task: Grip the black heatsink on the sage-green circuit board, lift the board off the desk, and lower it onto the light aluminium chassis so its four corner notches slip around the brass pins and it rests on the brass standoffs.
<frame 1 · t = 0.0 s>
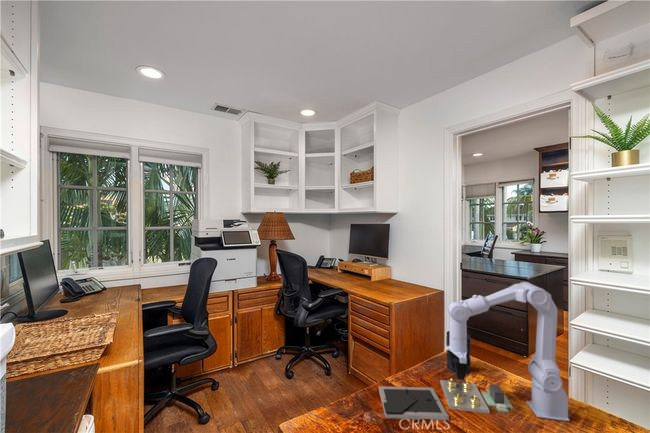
hand: (457, 373, 104), 10 cm above the table, fingers open, 7 cm apart
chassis: (462, 396, 106), on the table
picture frame: (410, 406, 102), on the table
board: (496, 401, 104), on the table
storage jar: (458, 368, 126), on the table
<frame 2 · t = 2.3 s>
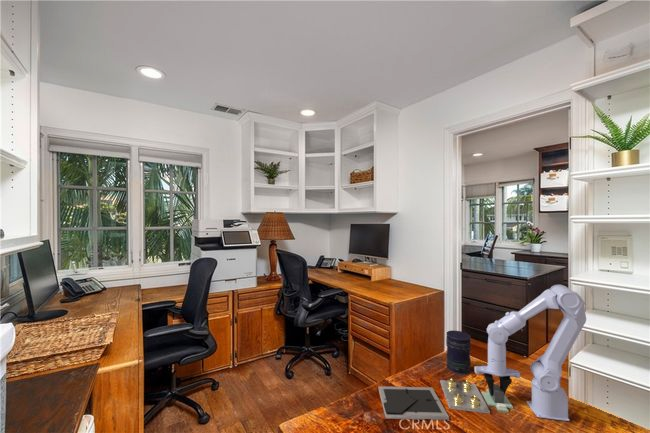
hand: (496, 394, 104), 2 cm above the table, fingers closed on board, 3 cm apart
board: (496, 400, 104), on the table, touching gripper
everything else where it was.
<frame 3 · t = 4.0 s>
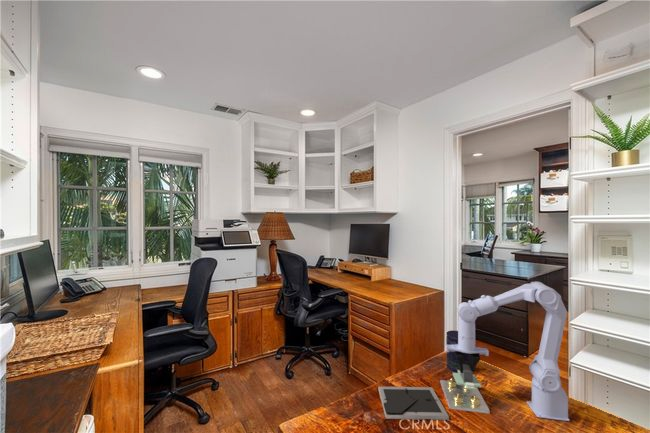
hand: (466, 372, 106), 9 cm above the table, fingers closed on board, 3 cm apart
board: (466, 380, 106), point 6 cm above the table, touching gripper
everything else where it was.
when the fingers open (6 cm above the table, at t = 6.0 s): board stays where it is, resting on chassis.
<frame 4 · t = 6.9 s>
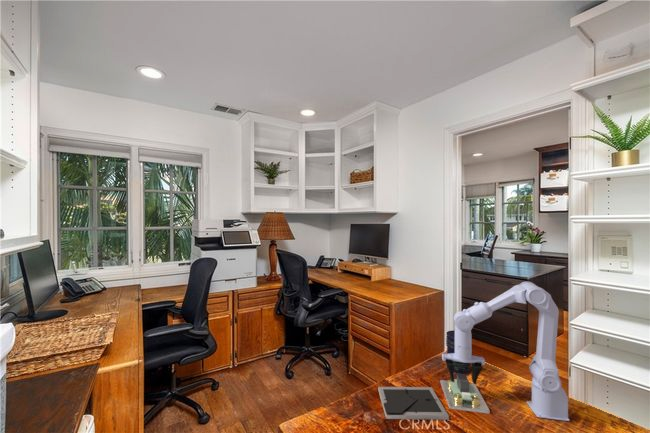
hand: (462, 381, 106), 6 cm above the table, fingers open, 7 cm apart
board: (462, 390, 106), point 2 cm above the table, touching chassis
everything else where it was.
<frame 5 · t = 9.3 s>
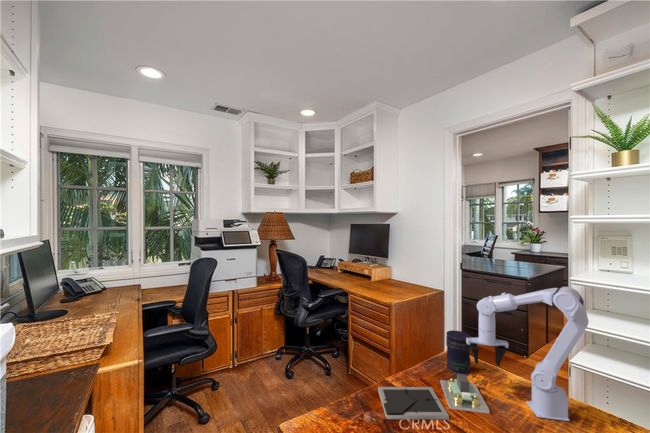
hand: (486, 363, 111), 10 cm above the table, fingers open, 7 cm apart
nothing on the table moved.
at the end: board 0.1 cm off-centre on the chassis, point 2.5 cm above the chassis's base; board tilted 0°; the gripper is holding nothing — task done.
